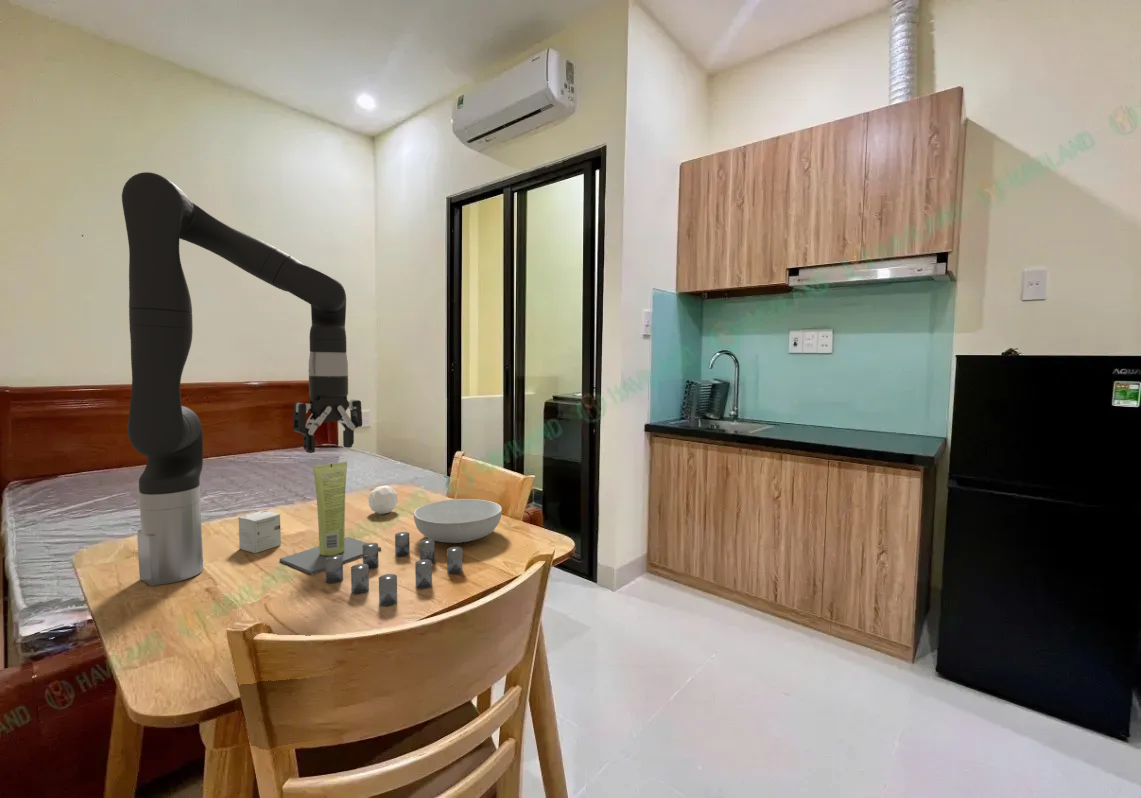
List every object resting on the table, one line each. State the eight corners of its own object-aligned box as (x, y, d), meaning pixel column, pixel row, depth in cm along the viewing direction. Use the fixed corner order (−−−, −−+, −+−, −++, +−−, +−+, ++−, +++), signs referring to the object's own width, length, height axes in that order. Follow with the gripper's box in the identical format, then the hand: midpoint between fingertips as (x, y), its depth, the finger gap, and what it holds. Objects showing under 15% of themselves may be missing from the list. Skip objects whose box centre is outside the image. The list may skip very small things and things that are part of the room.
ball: (377, 521, 142) (371, 495, 146) (405, 510, 143) (398, 485, 147) (367, 515, 135) (360, 488, 139) (396, 504, 137) (388, 477, 140)
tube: (325, 547, 113) (323, 461, 112) (349, 547, 114) (347, 460, 112) (315, 557, 108) (313, 466, 106) (340, 556, 108) (338, 465, 107)
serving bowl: (517, 530, 128) (518, 503, 128) (467, 559, 109) (467, 528, 109) (451, 519, 137) (451, 493, 136) (394, 544, 118) (393, 515, 117)
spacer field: (386, 607, 87) (386, 582, 87) (322, 581, 98) (322, 558, 97) (465, 570, 103) (465, 548, 103) (403, 550, 114) (403, 531, 113)
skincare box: (255, 554, 111) (253, 521, 110) (238, 549, 114) (237, 516, 113) (281, 545, 116) (280, 513, 116) (265, 540, 119) (264, 509, 119)
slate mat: (312, 574, 100) (311, 571, 100) (279, 561, 107) (279, 558, 107) (381, 549, 114) (381, 547, 114) (348, 539, 120) (348, 536, 120)
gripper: (305, 374, 100) (307, 456, 101) (369, 374, 111) (369, 447, 113) (285, 373, 104) (286, 452, 105) (348, 373, 116) (349, 443, 117)
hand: (329, 449), depth 109 cm, fingers open, 8 cm apart
